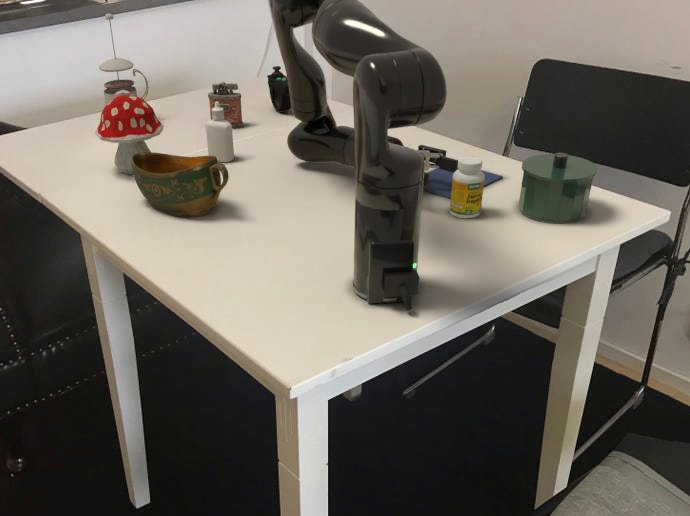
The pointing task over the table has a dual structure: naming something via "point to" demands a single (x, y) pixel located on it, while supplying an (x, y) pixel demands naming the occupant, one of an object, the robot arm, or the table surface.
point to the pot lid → (559, 167)
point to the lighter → (227, 102)
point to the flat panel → (450, 181)
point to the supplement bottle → (467, 188)
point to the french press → (118, 85)
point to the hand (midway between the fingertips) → (443, 173)
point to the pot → (554, 199)
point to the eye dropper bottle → (219, 136)
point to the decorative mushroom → (128, 128)
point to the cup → (179, 182)
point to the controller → (279, 90)
